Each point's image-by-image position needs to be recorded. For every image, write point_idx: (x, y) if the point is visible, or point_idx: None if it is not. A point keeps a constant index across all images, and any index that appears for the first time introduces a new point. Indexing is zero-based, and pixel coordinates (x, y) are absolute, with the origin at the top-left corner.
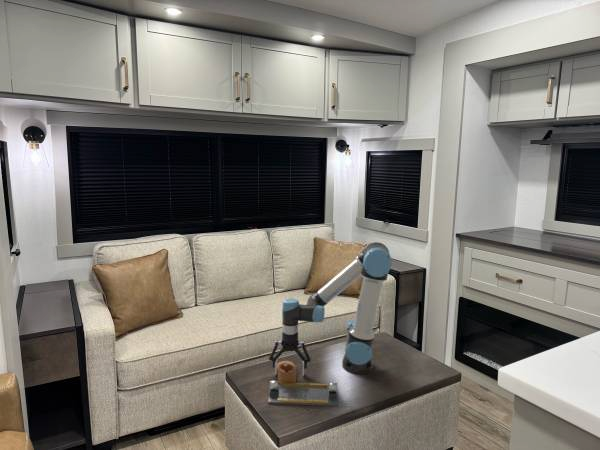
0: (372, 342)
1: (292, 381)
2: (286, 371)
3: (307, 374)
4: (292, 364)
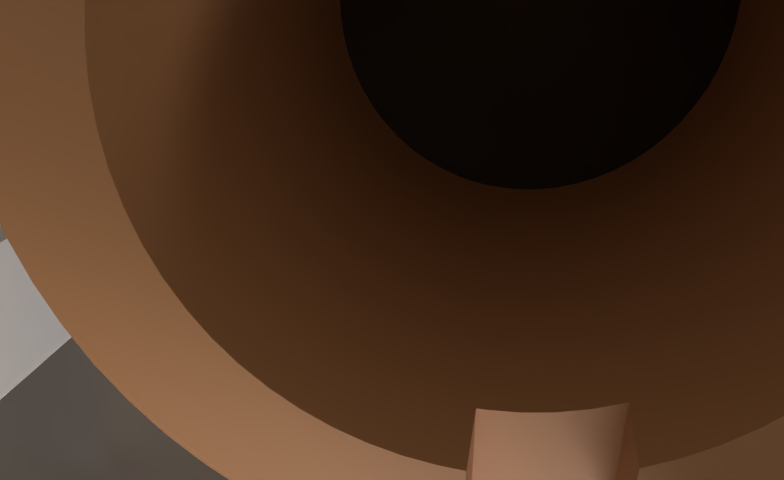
0: None
1: None
2: (513, 270)
3: None
4: (178, 384)
